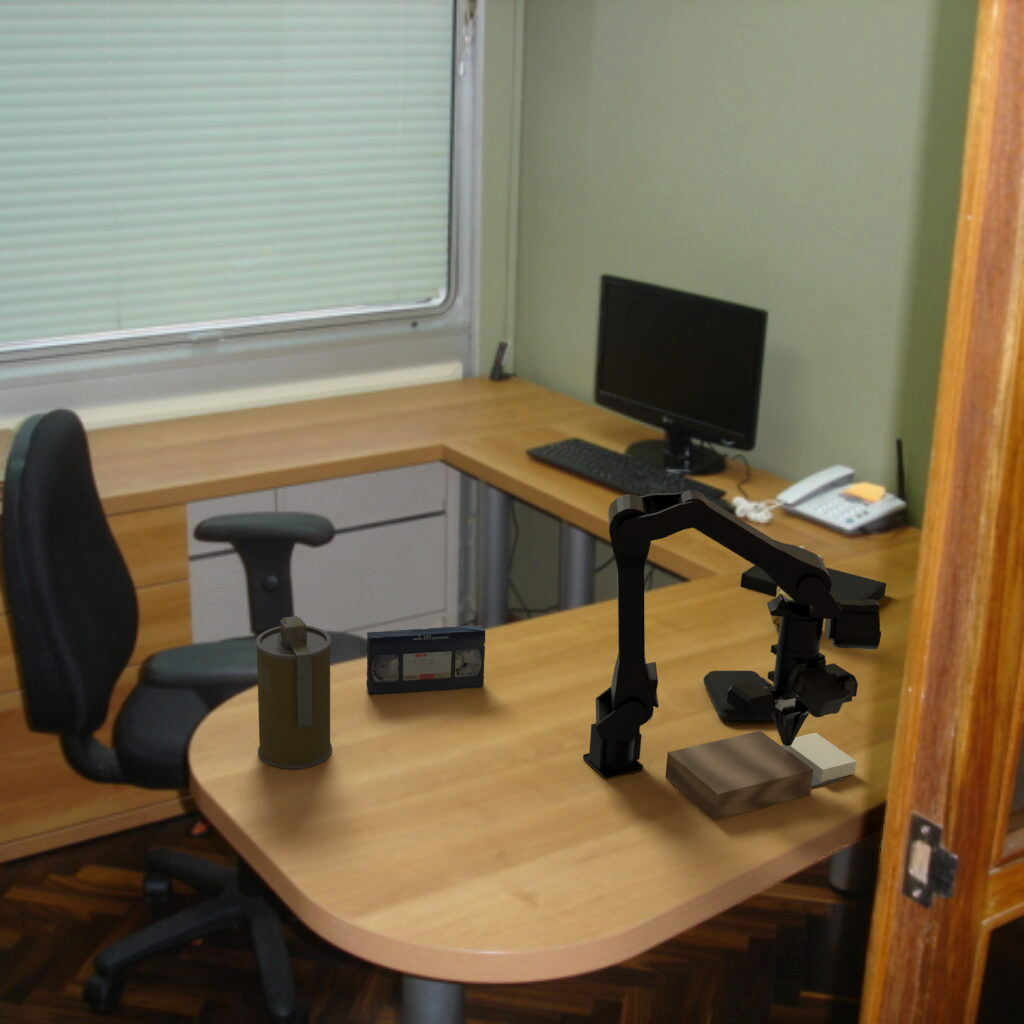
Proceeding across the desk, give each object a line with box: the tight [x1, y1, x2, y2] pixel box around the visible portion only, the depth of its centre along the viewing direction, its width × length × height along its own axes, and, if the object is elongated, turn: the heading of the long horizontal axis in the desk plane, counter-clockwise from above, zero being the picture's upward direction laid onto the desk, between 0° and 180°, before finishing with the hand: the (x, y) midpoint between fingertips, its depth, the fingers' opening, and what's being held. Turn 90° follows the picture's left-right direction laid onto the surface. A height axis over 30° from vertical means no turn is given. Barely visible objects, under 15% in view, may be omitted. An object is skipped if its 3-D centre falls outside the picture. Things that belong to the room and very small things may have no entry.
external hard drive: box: [740, 565, 887, 602], centre depth 260 cm, size 14×23×3 cm, turn 55°
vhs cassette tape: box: [365, 624, 486, 696], centre depth 214 cm, size 18×3×10 cm, turn 102°
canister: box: [254, 615, 333, 770], centre depth 192 cm, size 11×10×20 cm
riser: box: [665, 730, 813, 821], centre depth 191 cm, size 16×12×4 cm
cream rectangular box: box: [781, 732, 857, 782], centre depth 198 cm, size 6×9×2 cm, turn 27°
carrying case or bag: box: [703, 670, 775, 724], centre depth 215 cm, size 11×3×15 cm
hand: (786, 744), depth 193 cm, fingers closed
